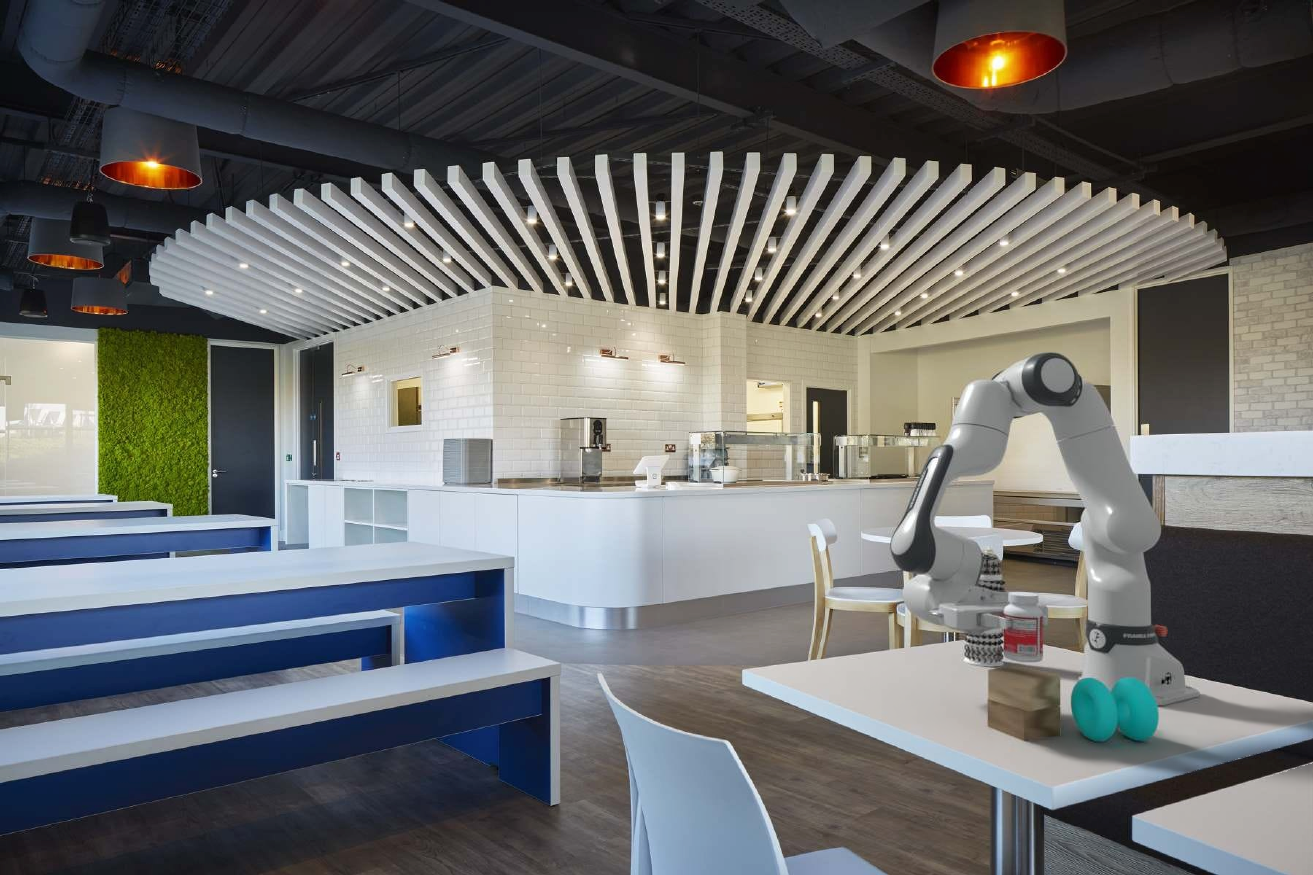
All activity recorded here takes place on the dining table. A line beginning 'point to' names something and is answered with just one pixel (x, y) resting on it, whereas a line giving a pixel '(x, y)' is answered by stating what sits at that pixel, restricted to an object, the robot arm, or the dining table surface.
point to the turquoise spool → (1114, 709)
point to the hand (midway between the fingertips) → (1027, 623)
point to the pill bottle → (1024, 628)
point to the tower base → (1024, 721)
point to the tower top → (1024, 687)
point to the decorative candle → (988, 643)
